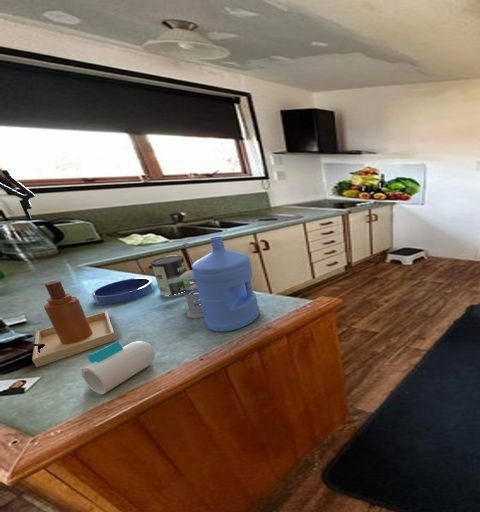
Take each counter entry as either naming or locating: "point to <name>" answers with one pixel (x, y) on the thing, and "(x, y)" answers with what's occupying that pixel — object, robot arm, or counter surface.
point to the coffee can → (170, 275)
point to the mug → (116, 364)
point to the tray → (57, 350)
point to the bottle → (66, 315)
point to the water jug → (225, 288)
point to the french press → (194, 307)
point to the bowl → (122, 291)
